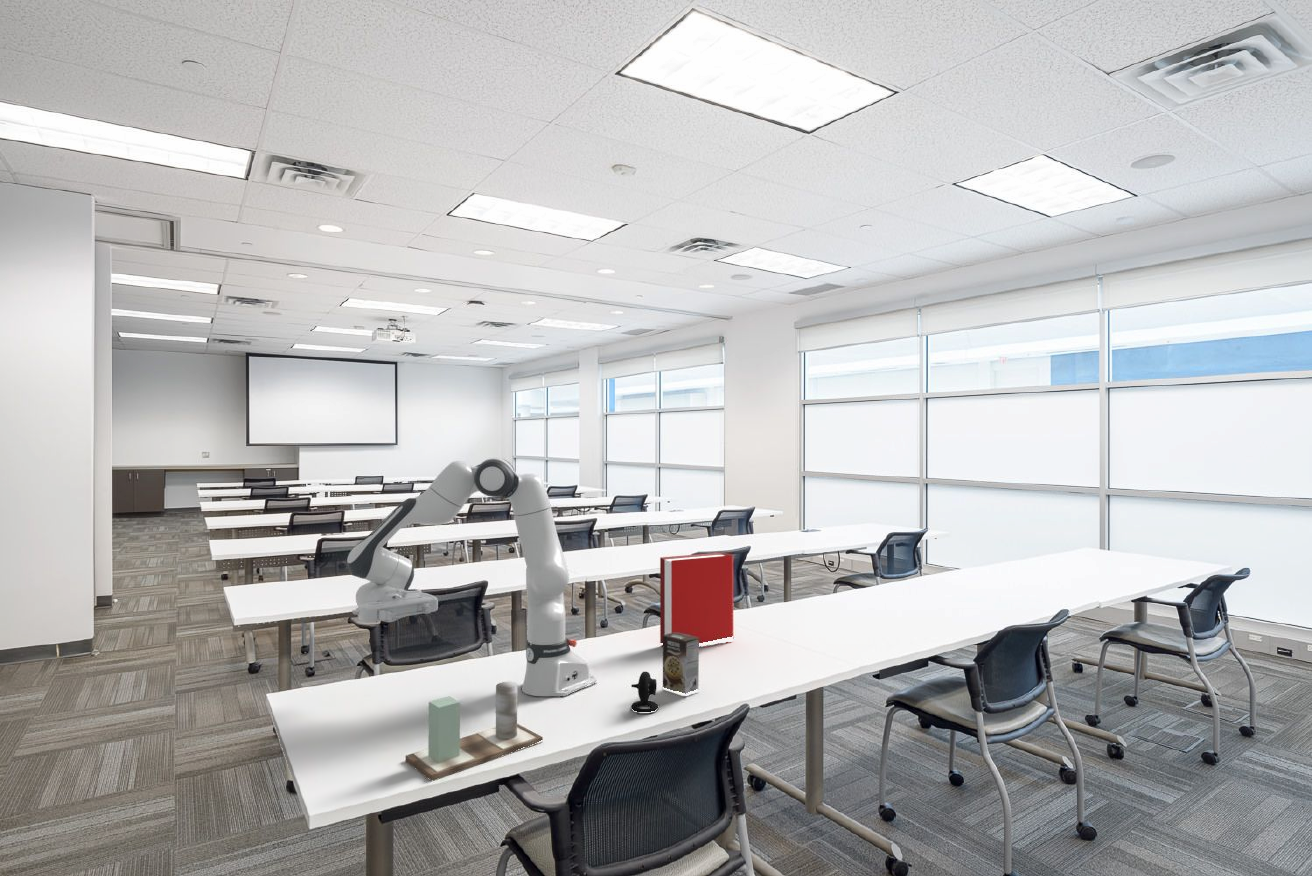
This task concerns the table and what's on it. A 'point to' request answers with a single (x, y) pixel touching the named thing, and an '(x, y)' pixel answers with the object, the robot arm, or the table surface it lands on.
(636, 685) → the webcam
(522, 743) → the board
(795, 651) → the table surface
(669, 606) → the book
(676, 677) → the coffee box
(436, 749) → the sage green tall pillar
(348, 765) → the table surface
